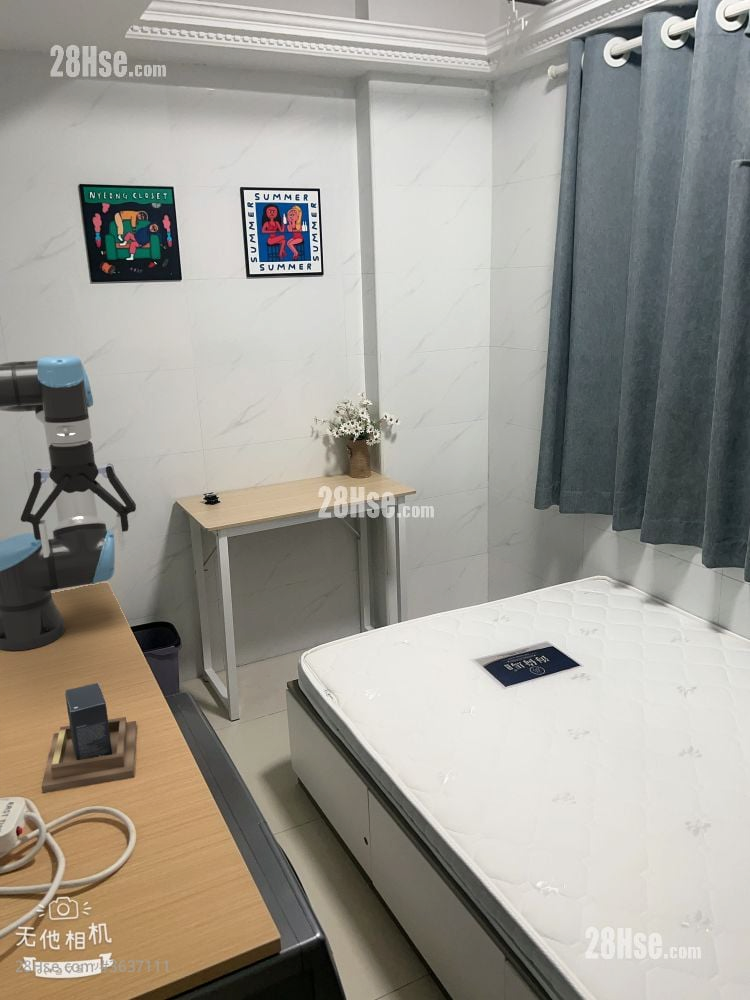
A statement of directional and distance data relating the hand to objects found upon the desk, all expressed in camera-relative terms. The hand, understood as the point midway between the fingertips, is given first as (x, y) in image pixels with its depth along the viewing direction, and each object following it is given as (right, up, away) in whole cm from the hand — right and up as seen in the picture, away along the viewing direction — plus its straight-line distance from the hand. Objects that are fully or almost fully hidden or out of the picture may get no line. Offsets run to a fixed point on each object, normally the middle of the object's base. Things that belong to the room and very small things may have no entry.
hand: (85, 551), depth 143 cm
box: (+7, -33, -15) cm, 37 cm away
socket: (+7, -34, -15) cm, 38 cm away
